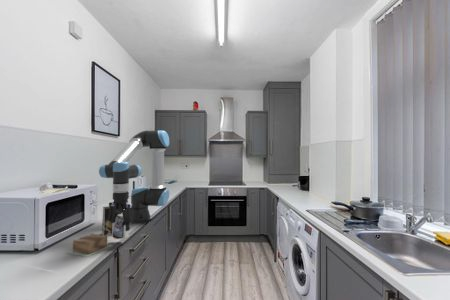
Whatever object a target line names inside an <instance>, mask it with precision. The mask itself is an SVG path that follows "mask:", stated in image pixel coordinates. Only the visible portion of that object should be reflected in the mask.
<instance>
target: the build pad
mask: <svg viewBox="0 0 450 300" xmlns="http://www.w3.org/2000/svg"><path fill="white" fill-rule="evenodd" d="M113 246H114V245H113V244H109V243H107V246H106V247H104V248H102V249H99V250H97V251H95V252H93V253H90V254H84V253H79V252H74V251H73V249H71V250H67V251H66V252H65V254H70V255H71V254H72V255H76V256H80V257H87V258H89V257H91V256H93V255H96V254H97V253H100V252H102V251H105V250H106V249H108V248H111V247H113Z"/></svg>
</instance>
